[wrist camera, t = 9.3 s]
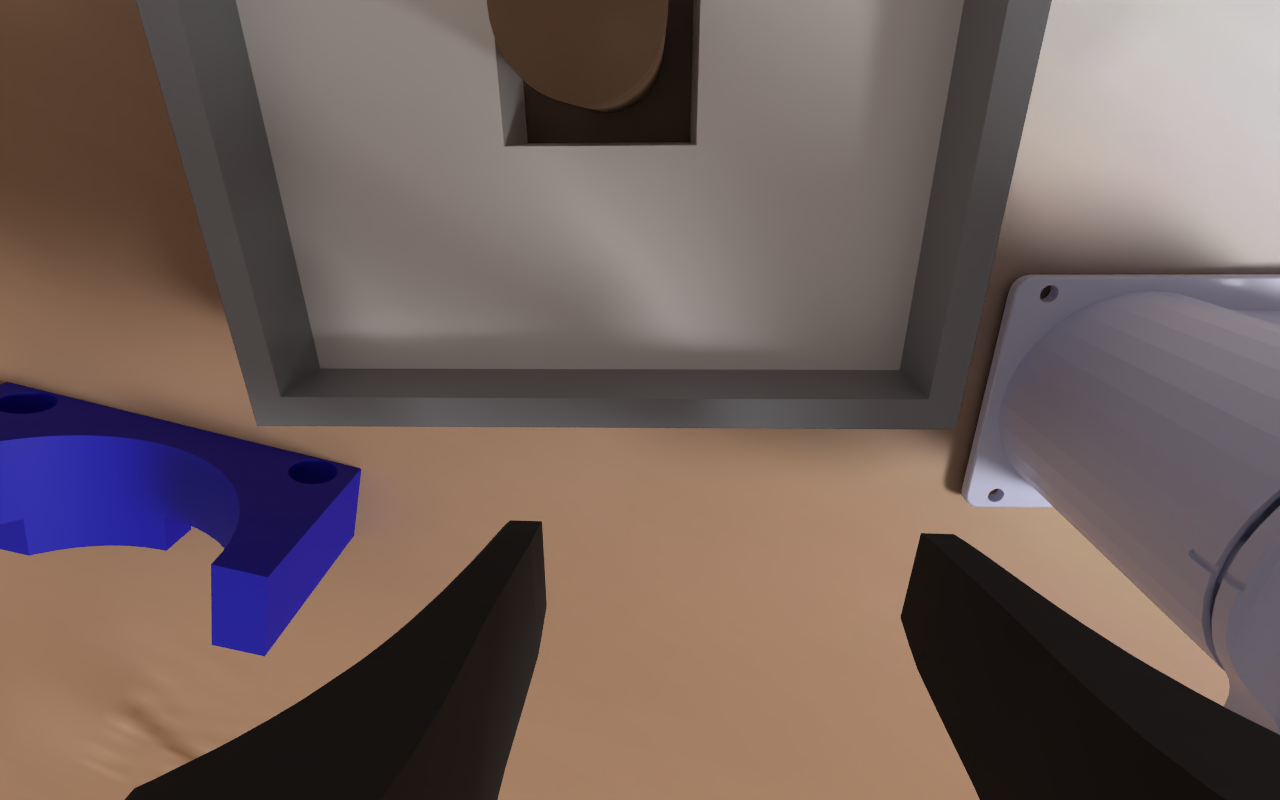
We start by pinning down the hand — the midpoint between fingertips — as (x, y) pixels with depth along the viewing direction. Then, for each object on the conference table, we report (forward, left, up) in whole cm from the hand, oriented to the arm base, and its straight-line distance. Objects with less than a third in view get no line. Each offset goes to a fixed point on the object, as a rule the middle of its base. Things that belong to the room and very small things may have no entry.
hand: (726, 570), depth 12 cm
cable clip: (+18, +4, -10) cm, 21 cm away
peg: (+3, -10, -9) cm, 14 cm away
